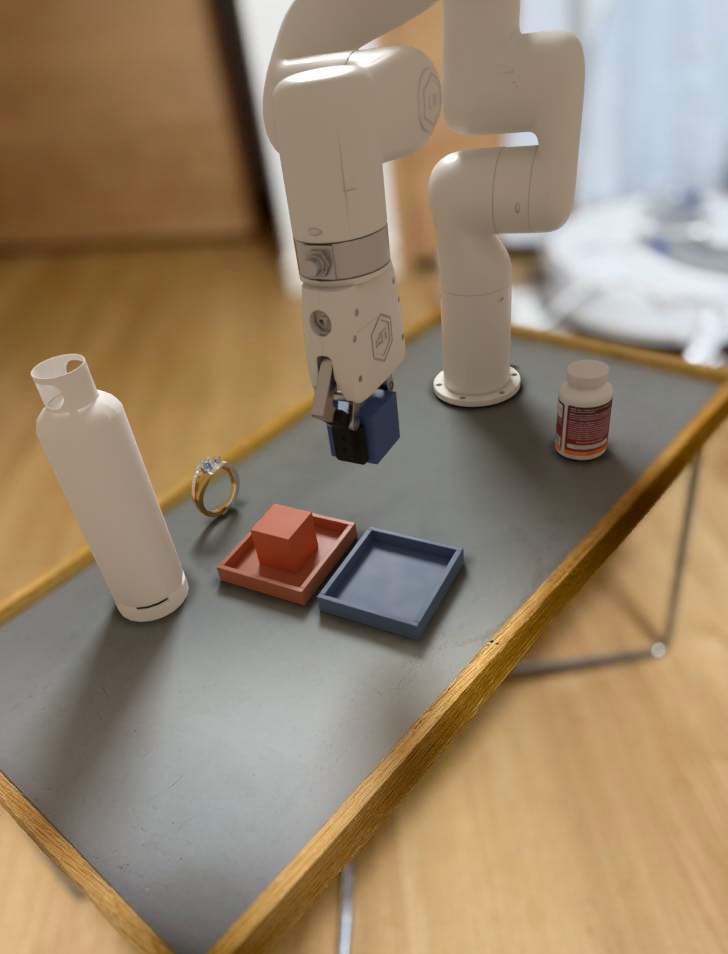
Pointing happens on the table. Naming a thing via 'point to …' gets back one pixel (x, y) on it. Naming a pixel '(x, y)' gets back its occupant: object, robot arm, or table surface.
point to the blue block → (376, 424)
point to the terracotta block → (285, 538)
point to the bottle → (108, 489)
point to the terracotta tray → (283, 584)
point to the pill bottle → (584, 410)
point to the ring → (199, 491)
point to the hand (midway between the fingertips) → (366, 443)
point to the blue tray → (392, 581)
